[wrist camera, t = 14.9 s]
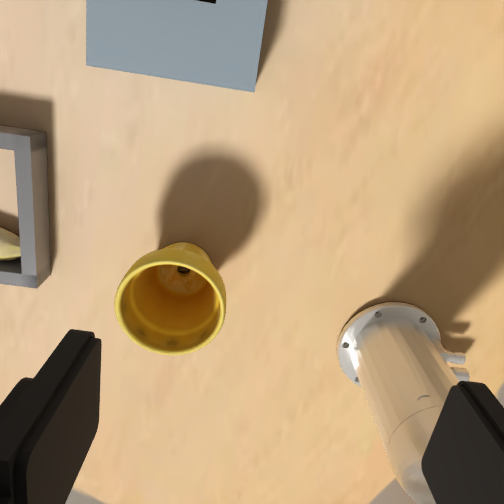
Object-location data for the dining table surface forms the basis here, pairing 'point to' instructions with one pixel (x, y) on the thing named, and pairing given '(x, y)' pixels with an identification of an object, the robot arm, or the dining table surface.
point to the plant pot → (171, 300)
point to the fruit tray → (29, 208)
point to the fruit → (9, 245)
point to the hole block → (178, 39)
